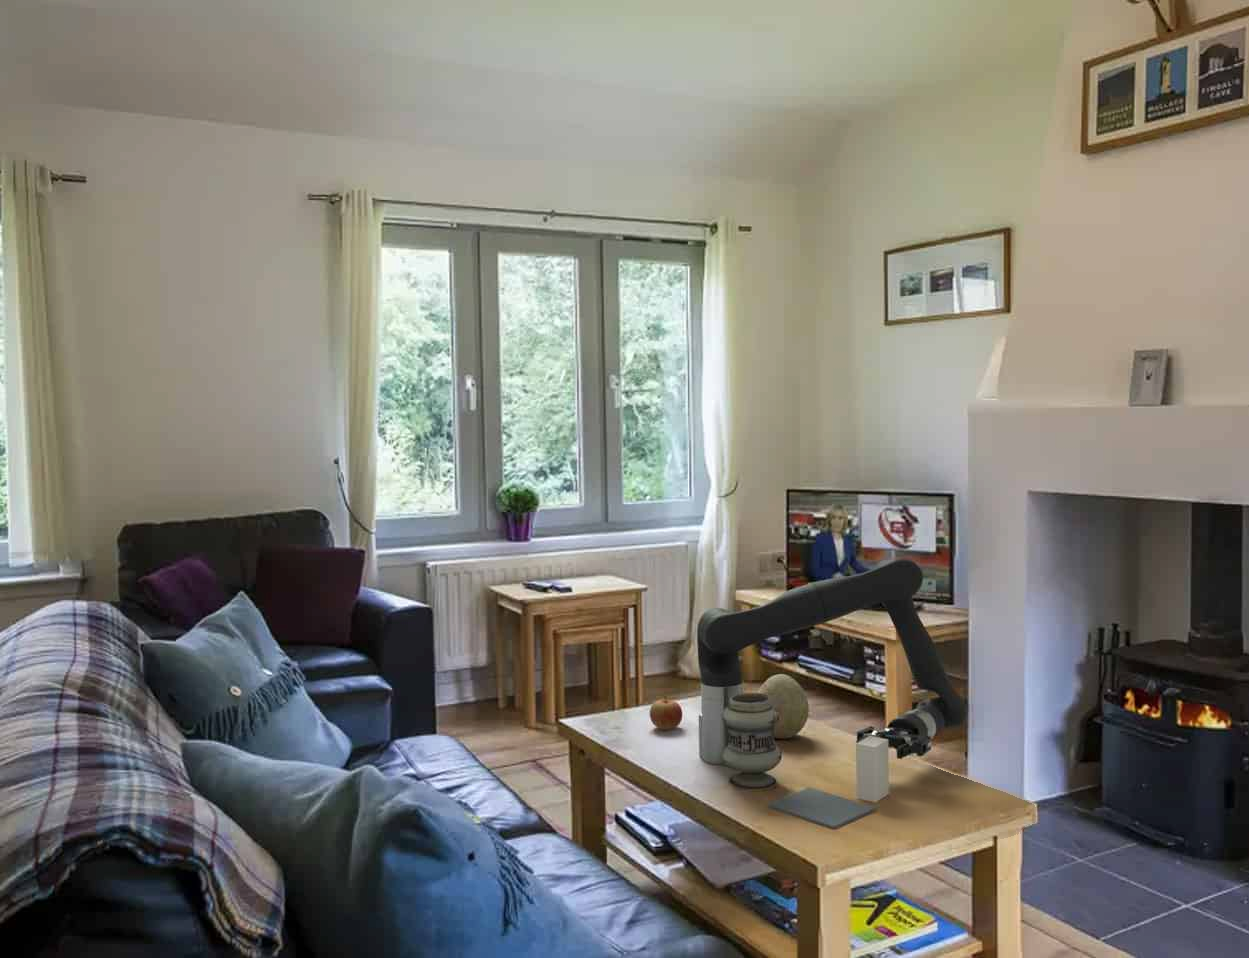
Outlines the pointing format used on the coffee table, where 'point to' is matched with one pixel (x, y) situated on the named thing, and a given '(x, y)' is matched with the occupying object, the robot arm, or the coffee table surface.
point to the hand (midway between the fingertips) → (878, 750)
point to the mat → (821, 807)
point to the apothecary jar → (751, 741)
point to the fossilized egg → (787, 704)
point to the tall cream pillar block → (872, 769)
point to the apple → (666, 714)
